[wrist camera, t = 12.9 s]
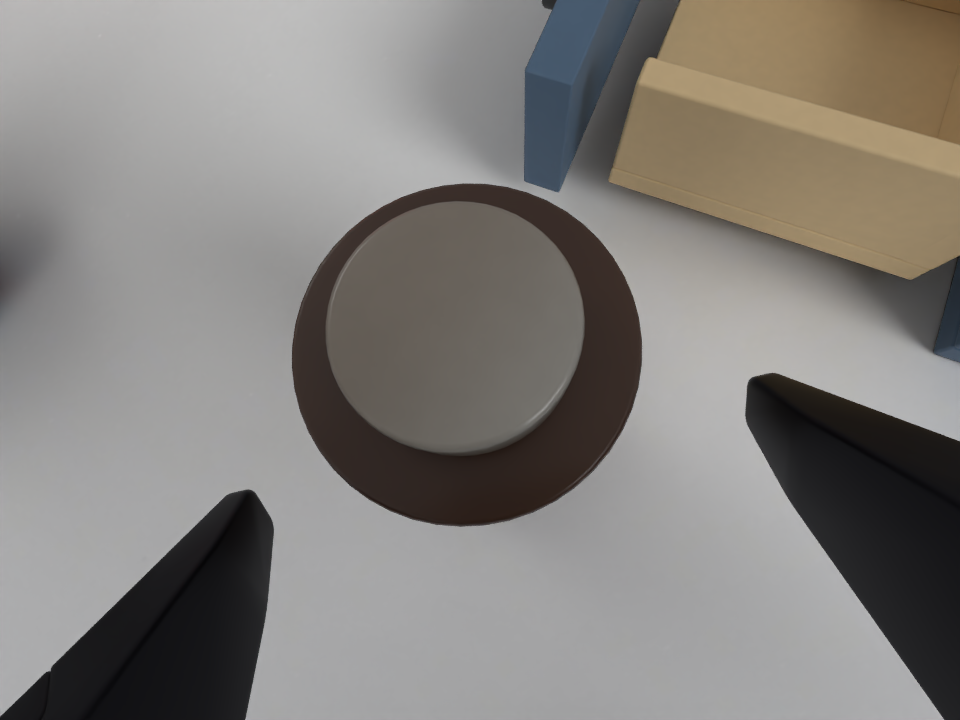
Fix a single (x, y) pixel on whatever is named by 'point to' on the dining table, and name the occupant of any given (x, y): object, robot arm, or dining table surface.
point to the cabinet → (951, 322)
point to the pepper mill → (466, 355)
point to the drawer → (773, 118)
